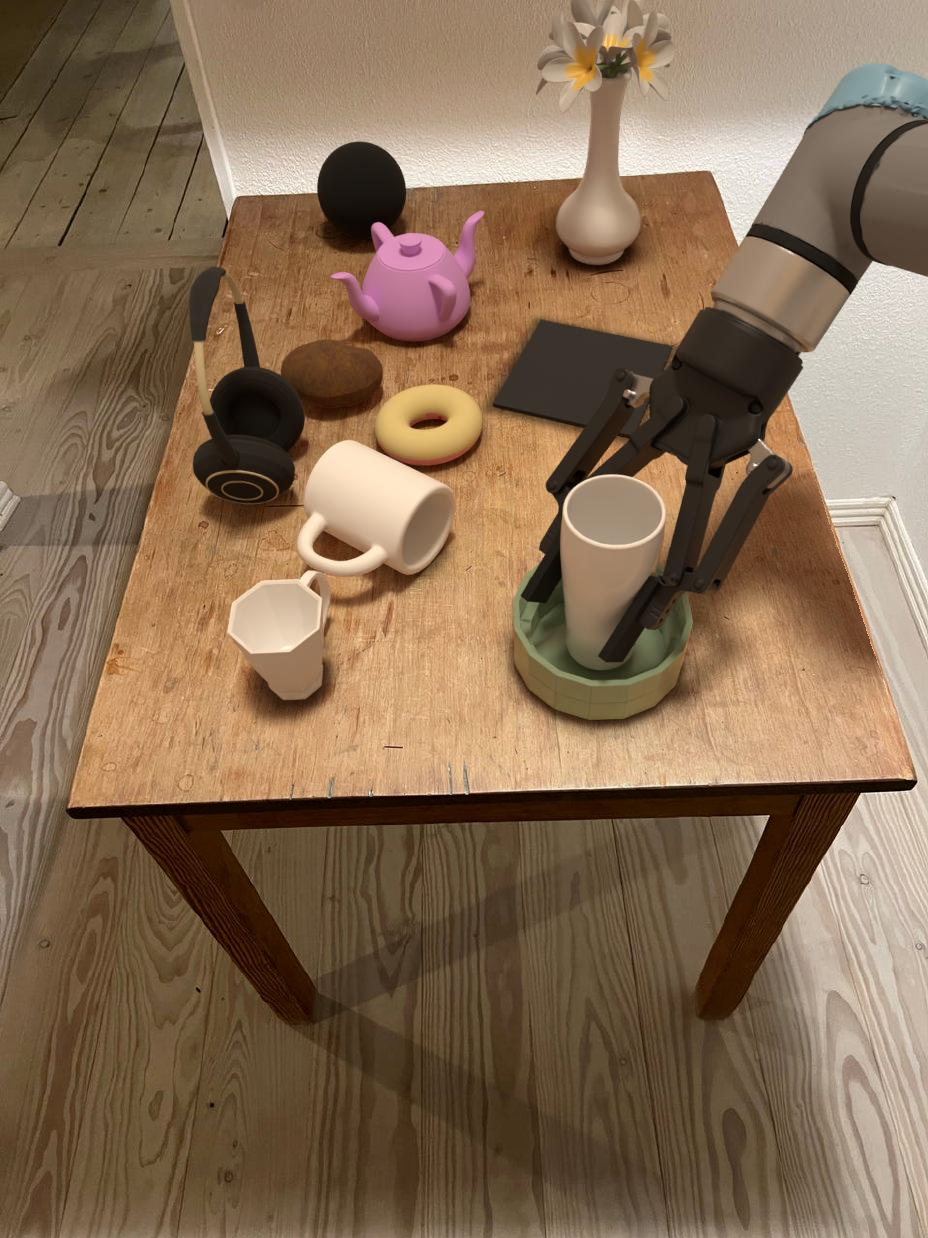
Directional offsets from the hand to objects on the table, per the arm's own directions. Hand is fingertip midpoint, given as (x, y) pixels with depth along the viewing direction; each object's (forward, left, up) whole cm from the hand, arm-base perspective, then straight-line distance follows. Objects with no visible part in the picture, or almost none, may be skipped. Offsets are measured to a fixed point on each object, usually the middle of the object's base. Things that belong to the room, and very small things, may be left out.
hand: (571, 628), depth 67 cm
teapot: (+30, -38, -7) cm, 49 cm away
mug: (+20, -6, -7) cm, 22 cm away
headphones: (+33, -12, -7) cm, 36 cm away
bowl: (-1, -3, -6) cm, 7 cm away
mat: (+10, -34, -6) cm, 36 cm away
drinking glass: (-2, -3, -6) cm, 7 cm away
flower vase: (+16, -56, -7) cm, 59 cm away
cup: (+20, +6, -7) cm, 22 cm away
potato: (+32, -23, -7) cm, 40 cm away
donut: (+21, -21, -7) cm, 30 cm away
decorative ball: (+42, -51, -7) cm, 66 cm away
